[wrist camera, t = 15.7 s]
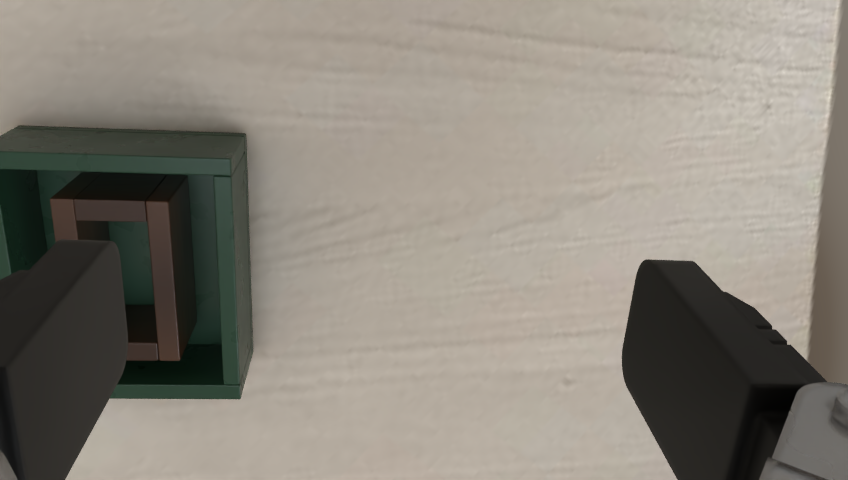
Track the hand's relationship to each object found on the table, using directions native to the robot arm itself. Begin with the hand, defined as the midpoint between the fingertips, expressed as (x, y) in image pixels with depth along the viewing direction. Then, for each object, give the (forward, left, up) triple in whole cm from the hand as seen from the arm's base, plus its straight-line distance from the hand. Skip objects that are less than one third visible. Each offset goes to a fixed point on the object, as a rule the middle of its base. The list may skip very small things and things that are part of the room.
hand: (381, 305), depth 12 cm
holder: (+10, -11, -26) cm, 30 cm away
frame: (+10, -11, -26) cm, 29 cm away
